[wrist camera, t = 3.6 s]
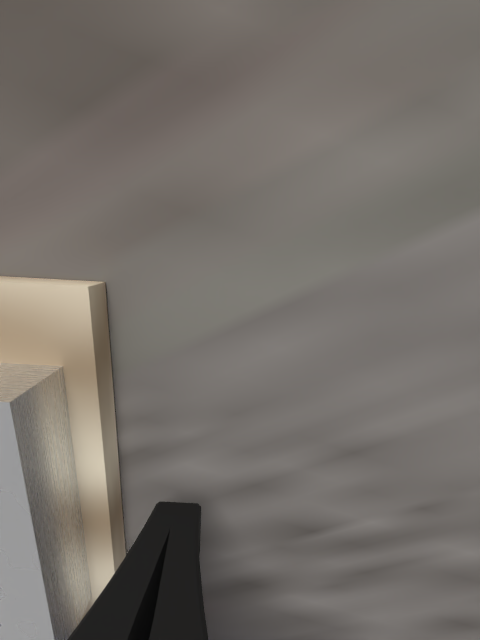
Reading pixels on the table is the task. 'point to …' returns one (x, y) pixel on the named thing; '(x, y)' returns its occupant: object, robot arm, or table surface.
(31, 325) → the board
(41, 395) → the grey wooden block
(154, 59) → the table surface
